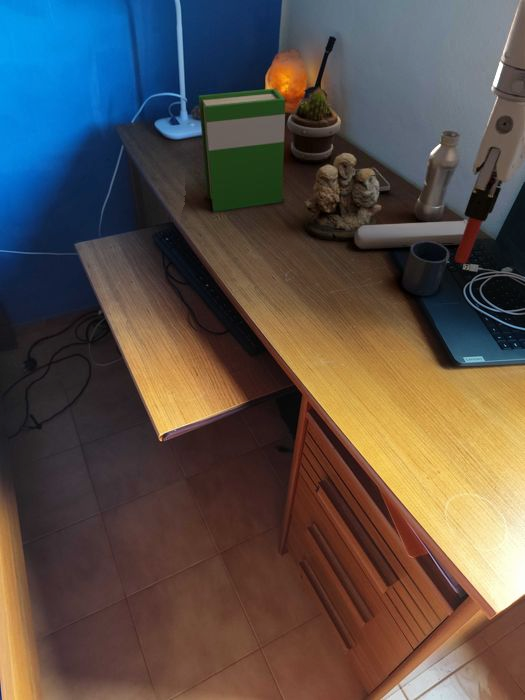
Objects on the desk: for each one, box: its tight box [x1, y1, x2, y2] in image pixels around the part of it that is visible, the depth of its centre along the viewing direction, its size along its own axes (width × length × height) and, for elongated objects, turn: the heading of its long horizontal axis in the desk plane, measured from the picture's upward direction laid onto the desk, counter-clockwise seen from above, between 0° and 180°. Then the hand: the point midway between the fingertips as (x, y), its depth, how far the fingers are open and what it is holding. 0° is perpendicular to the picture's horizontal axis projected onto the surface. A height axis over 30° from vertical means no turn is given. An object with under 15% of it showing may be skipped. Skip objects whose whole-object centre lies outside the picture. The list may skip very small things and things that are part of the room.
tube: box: [353, 219, 468, 250], centre depth 103 cm, size 5×5×25 cm
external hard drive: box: [354, 167, 391, 194], centre depth 123 cm, size 7×11×2 cm, turn 13°
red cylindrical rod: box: [454, 180, 493, 264], centre depth 72 cm, size 2×2×14 cm
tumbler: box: [401, 241, 450, 297], centre depth 92 cm, size 7×7×8 cm
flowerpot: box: [286, 85, 342, 164], centre depth 129 cm, size 14×15×20 cm
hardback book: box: [198, 88, 287, 212], centre depth 110 cm, size 18×7×24 cm, turn 106°
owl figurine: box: [303, 152, 382, 242], centre depth 103 cm, size 18×12×17 cm, turn 101°
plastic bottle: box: [413, 130, 461, 223], centre depth 105 cm, size 6×7×20 cm
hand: (478, 213), depth 71 cm, fingers closed on red cylindrical rod, 2 cm apart
